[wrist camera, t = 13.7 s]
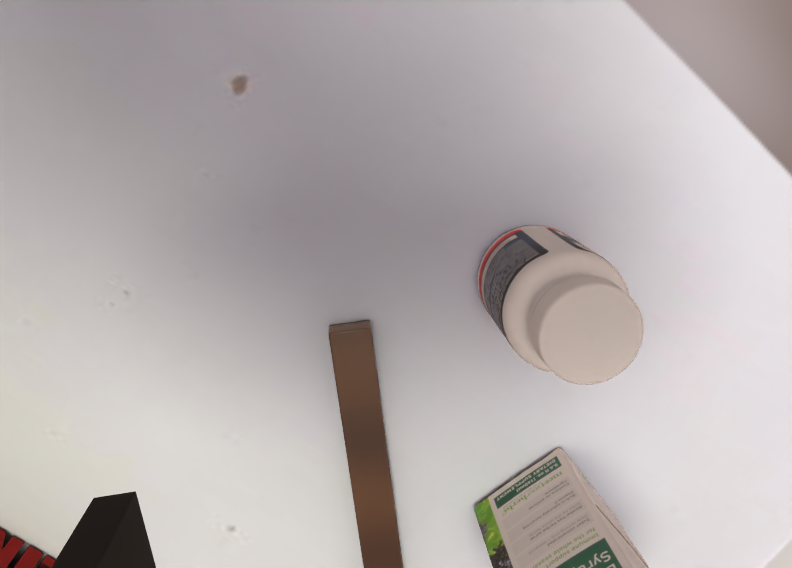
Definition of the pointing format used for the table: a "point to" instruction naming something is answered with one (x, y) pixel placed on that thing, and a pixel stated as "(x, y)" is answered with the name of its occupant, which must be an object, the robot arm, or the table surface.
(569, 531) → the syrup box
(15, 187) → the table surface
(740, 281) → the table surface
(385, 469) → the strip
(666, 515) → the table surface
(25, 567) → the logo sign
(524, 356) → the pill bottle
